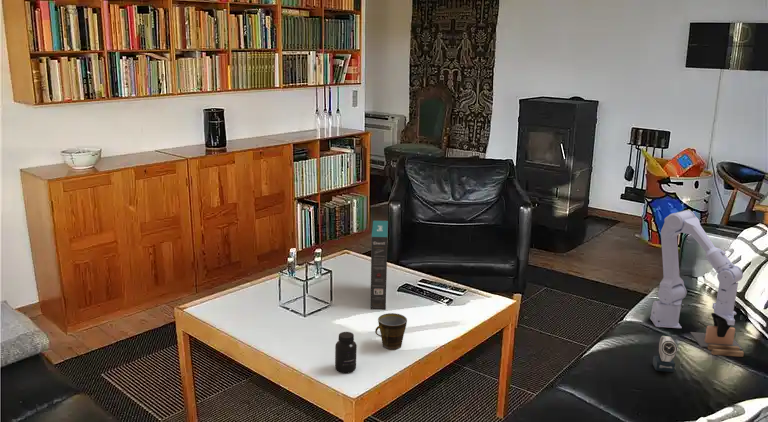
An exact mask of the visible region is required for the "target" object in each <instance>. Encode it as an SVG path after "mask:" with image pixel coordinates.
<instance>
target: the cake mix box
mask: <svg viewBox="0 0 768 422" xmlns="http://www.w3.org/2000/svg"><path fill="white" fill-rule="evenodd" d="M371 228H372V229H371V244H370V246H371V248H370V251H371V256H370V257H371V258H370V259H371V260H370V310H373V311H374V310H377V311H379V310H380V311H382V310H383V311H386V310H387V309H386V308H387V275H388V274H387V273H388V272H387V271H388V266H387V265H388V239H389V238H388V235H389V233H388V231H389V229H388V228H389V221H388V220H373V221H372V227H371Z"/></svg>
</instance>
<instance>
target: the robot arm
mask: <svg viewBox="0 0 768 422" xmlns="http://www.w3.org/2000/svg"><path fill="white" fill-rule="evenodd" d="M663 220H664V223H663V226H662V228H661V230H660V238H661V239H660V240H661V257H662V271H663V272H662V273H663V278H662V279H661V281H660V283H659V289H658V291H657V296H658V299H659V300H653V303H652V305H651V313H650V317H649V318H650V321H652V323H653V325H654V326H655V327H656V328H672V329H682V326H681V324H680V323H679V320H680V314H681V308H682V301H683V299H685V298H686V296H687V289H686V286H685V283H684V280H683V279H682V278H681V276H680V263H679V261H680V260H679V247H678V235H680V234H681V233H683V234H686V235H691V236H692V238H693V239H694V240H695V241H696V242H697V244H698V245H699V246H700V247H701V248H702V250H703V251H705V258H706V260H707V261H708V262H709V264H710V265H711V267H712V269H714V271H715V272H716V273H717V274H716V278H717V280H718V284H719V285H718V290H717V294H716V299H715V300H716V301H715V302H712V305H711V308H712V309H713V312H711V313H710V314H711V317H712V321H713V326H717V336H718V337H725V335H726V333H727V331H728V329H729V328H730V327H732V326H735V323H736V320H735V318H734V316H736V315H737V312H736V311H735V310H734V309H735V304H736V297H737V294H738V293H737V291H738V288H739V287H738V286H739V282H740V281H741V280H742V279H743V276H744V274H743V271H742V269H741V267H740V266H738V265H735V264H734V263H733V262H731V260H730V258H728V256H727V255H726V251H725V250H722V248H720V247H716V246H715V245H714V243H713V241H712V240H711V239H710V238H709V235H708V234H707V232H706V231H705V230H704V228H703V227H702V225H701V222H700V219H699V218H698V217H697V216H696V214H695V213H694V212H693V211H692V210H689V209H685V210H681V211H678V212H673V213H670V214H669V215H667V216H666V217H665V218H664V219H663Z"/></svg>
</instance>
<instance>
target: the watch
mask: <svg viewBox="0 0 768 422" xmlns="http://www.w3.org/2000/svg"><path fill="white" fill-rule="evenodd" d="M678 351H679V348H678V346H677V344H676V343H675V341H674V339H673V338H672V337H671V336H665V335H662V336H661V337H660V339H659V342H658V355H659V356H658V355H653V359H652V366H653V368H654V369H655V371H656V372H664V373H665V372H667V373H674V372H675V365H676V363H675V361H674V360H673V358H674V357H675V356H676V354H677V352H678Z"/></svg>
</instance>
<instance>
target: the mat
mask: <svg viewBox="0 0 768 422" xmlns="http://www.w3.org/2000/svg"><path fill="white" fill-rule="evenodd" d="M689 334H690V335H691V336H692V338H693V339H694V340H695V342H697V344H698V345H699V346H700V348H708V344H713V345H727V346H738V347H739V348H740V349H739V351H743V350H744V348H743V347H741V345H740V344H739V343H738V341H736V339H734V340H733V345H728V344H715V343H706V342H705V335H706V332H694V331H690V332H689Z"/></svg>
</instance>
